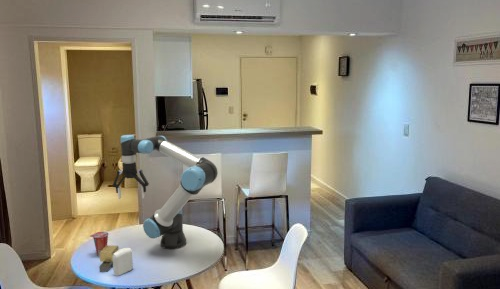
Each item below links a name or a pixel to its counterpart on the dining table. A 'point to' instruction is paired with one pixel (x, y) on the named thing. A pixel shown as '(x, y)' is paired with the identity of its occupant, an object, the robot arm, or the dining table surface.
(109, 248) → the mottled tan brick
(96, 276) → the dining table surface
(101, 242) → the cup
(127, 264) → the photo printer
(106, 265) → the rail
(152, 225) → the robot arm
